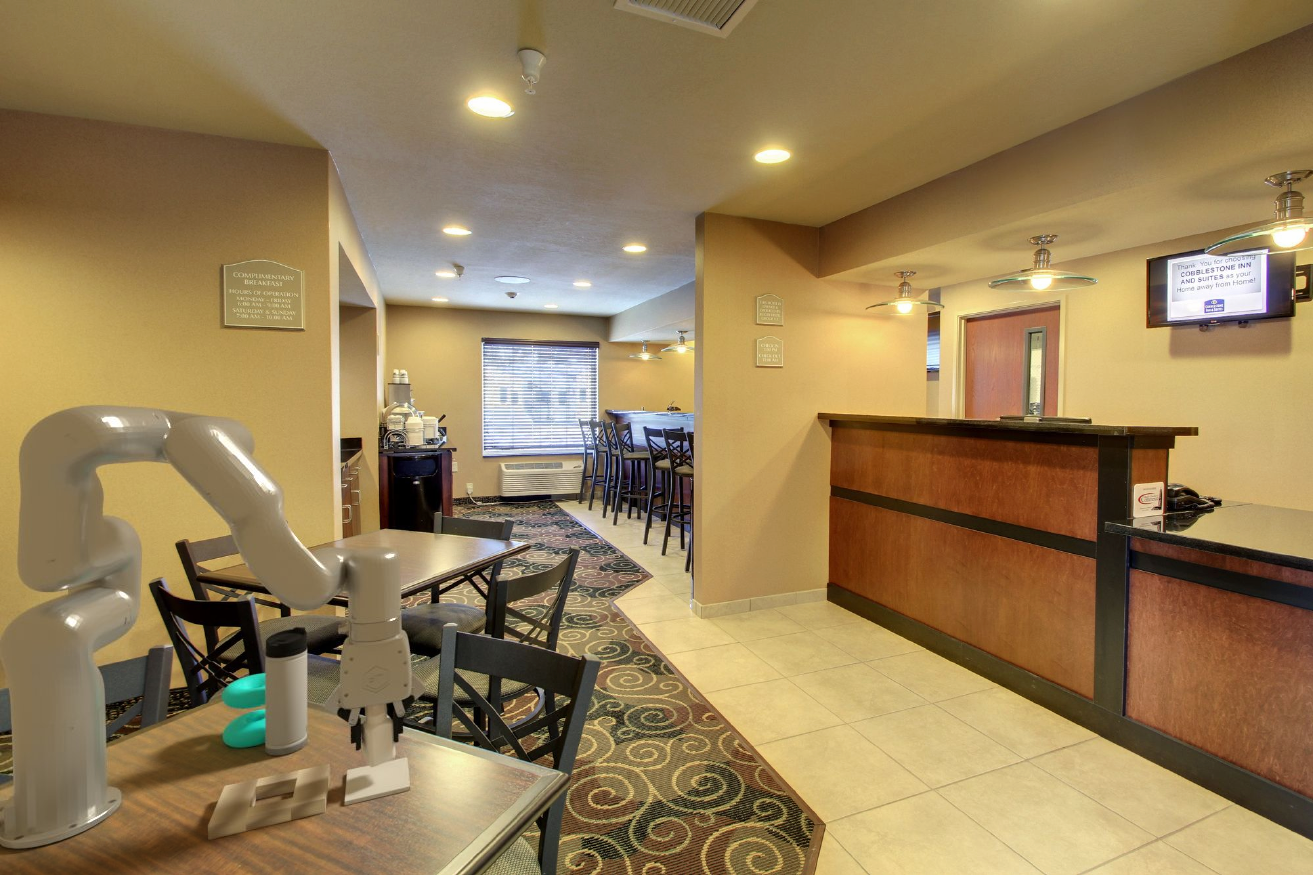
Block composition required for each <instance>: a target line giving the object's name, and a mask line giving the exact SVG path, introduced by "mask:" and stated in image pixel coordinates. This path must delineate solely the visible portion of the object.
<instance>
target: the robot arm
mask: <svg viewBox="0 0 1313 875" xmlns="http://www.w3.org/2000/svg"><path fill="white" fill-rule="evenodd" d="M255 446H256V445H255V440H254V437H253V434H252V432H251V431H250V429H249V428H248V427H247V426H245V425H244V424H243V423H242V422H240V421H238V420H237V419H234V418H231V417H225V416H213V415H205V414H198V413H197V414H196V413H190V412H182V411H174V410H168V409H160V408H156V407H155V408H153V407H144V406H141V407H140V406H126V405H125V406H124V405H113V404H112V405H110V404H109V405H107V404H105V405H103V404H95V405H94V404H91V405H81V406H74V407H69V408H66V409H63V410H59V411H57V412H54V413H51V414H49V415H47V416H45V417H44V418H42V419H41V420H39V421H37V423H35V424H34V425H32V427H31V428H30V429H29V431H28V432H27V433H26V434H25V435H24V438H23V440H22V441H21V445H20V447H19V453H18V472H19V473H18V474H19V486H20V487H19V488H20V504H19V510H18V511H19V513H18V514H19V515H18V532H17V533H18V536H17V537H18V538H17V555H16V557H17V559H16V560H17V562H16V563H17V571H18V577H19V579H20V581H21V582H22V584H23V585H25V586H26V587H27V588H28V589H30V590H33V591H36V592H39V593H56V592H62V591H67V594H64V595H60V596H58V597H55V598H53V599H50V600H46V601H44V602H42V603H39V604H37V605H35V606H32V607H31V608H29V609H27V610H25V611H23V612H21V613H20V614H19V615H18V616H16V617H15V618H14V619H13V620H12V621H11V622H10V623H9V624H8V625H7V626H6V628H5V629H4V630H3V632H2V634H1V636H0V660H1V664H2V667H3V671H4V675H5V676H6V680H7V685H8V691H9V700H10V720H11V721H10V722H11V723H10V724H11V741H12V748H11V749H12V778H13V780H12V781H13V782H12V783H13V795H11V796H10V797H9V798H8V799H5V800H0V823H1V824H2V825H1V827H0V844H1V845H2V846H1V845H0V846H1V847H4V848H7V849H15V850H16V849H28V848H35V847H37V848H38V847H41V846H44V845H45V846H46V845H49V844H53V843H57V842H59V841H62V840H66V839H68V838H71V837H73V836H76V835H78V834H81V833H83V832H85V831H87V830H88V829H90V828H91V829H92V827H94V826H96V825H98V824H99V823H101V822H103V821H104V820H106V819H107V818H108V817H110V816H111V815H112V814H113V813H114V812H116V811H117V809H118V808H120V805H121V804H122V792H121V790H120V789H119V788H118V787H115V786H111V785H108V770H107V769H108V766H107V732H106V731H107V730H106V728H107V727H106V726H107V723H106V720H107V719H106V693H105V684H104V683H105V682H104V678H103V675H102V673H101V671H100V669H99V667H98V665H97V664H96V662H95V658H94V654H95V653H96V652H99V650H102V649H103V648H105V647H107V646H109V645H110V644H111V645H112V643H115V642H116V641H118V640H119V639H121V638H122V637H124V636H125V635H127V633H128V632H130V630H132V628H133V627H134V625H135V624H136V622H137V619H138V617H139V613H140V607H141V606H140V605H141V591H142V590H141V587H142V566H143V565H142V563H143V547H142V541H141V539H140V535H139V534H138V531H136V529H135V528H134V526H133V525H132V524H131V523H129V522H128V521H126V520H125V519H123V518H121V517H117V516H115V515H110V514H109V515H104V512H103V511H104V500H105V494H104V488H103V484H102V483H101V480H100V477H99V476H98V473H97V469H98V468H99V467H102V466H106V465H114V464H115V465H116V464H127V463H130V464H131V463H139V462H141V463H142V462H143V463H144V462H150V463H160V464H161V463H162V464H170V465H171V466H172V468H173V469H174V470H175V471H176V472H178V474H179V475H180V476H181V477H182V478H183V479H185V481H186V482H187V483H188V484H189V485H190V487H192V488H193V489H194V491H196V492H197V493H198V494H199V495H200V496H201V498H202V499H203V500H205V502H207V504H209V506H210V507H211V508H212V509H213V510H214V511H215V512H216V513H217V514H218V515H219V516H220V517H221V518H222V520H224V522H225V523H226V524H227V525H228V527H229V529H230V533H231V537H232V539H233V541H234V544H235V546H236V549H237V551H238V552H239V555H240V558H242V561H243V562H244V564H245V565H246V567H247V569H248V570H249V571H250V573H251V574H252V576H254V578H255V579H257V580H258V581H259V583H260V584H261V585H263V587H264V588H265V589H266V590H267V591H268V592H269V593H271V595H273V597H275V598H276V600H278V601H279V602H280V603H281V604H283V605H285V606H286V607H288V608H290V609H293V610H296V611H300V612H309V611H315V610H317V609H320V608H321V607H323V606H325V605H326V604H328V603H329V602H330V601H332V599H333V598H334V597H336V596H338V595H340V594H342V593H344V592H347V595H348V596H347V598H348V599H347V601H348V602H347V604H348V605H347V606H348V609H347V610H348V612H347V613H348V620H347V621H346V623H343V624H340V625H339V624H338V627H337V629H338V630H337V632H338V635H341V634H343V635H346V636H347V637H346V638H345V640H344V642H343V645H342V649H341V655H340V666H339V670H340V671H339V684H338V685H337V686H336V687H335V688H334V690H333V691H332V693H331V694H330V695H329V697H328V698H327V699H326V701H325V702H324V709H325V710H326V711H327V712H330V713H332V714H335V715H337V716H338V717H339V718H340V719H342V720H343V721H345V722H346V723H347V724H348V726H350V745H351V744H352V745H353V744H355V752H357V751H360V750H362V735H361V724H362V718H361V717H360V716H361V715H360V711H361V709H362V708H365V707H369V706H375V705H380V704H385V703H387V704H391V703H392V704H393V707H394V709H393V710H394V711H392V720H393V727H394V742H395V744H396V743H397V744H398V743H399V741H400V740H399V737H400V736H399V735H401V734H404V716H405V714H406V712H407V711H408V710H409V708H411V706H412V705H413V704H414V703H415V701H416V700H417V699H419V697H421V696H422V695H423V694H424V693H425V692H426V691H427V687H426V684H425V683H424V682H423V681H422V680H421V679H420V678H419V677H418V676H417V675H416V674H415V673H414V672H413V671H412V661H411V659H412V658H411V651H410V650H411V649H410V643H409V638H408V637H409V636H408V634H407V632H406V631H405V630H403V629H402V588H401V587H402V582H401V581H402V580H401V578H402V576H401V573H402V572H401V569H402V568H401V565H402V564H401V555H400V553H399V551H398V550H396V549H395V548H391V547H385V546H384V547H383V546H381V547H377V546H376V547H369V548H368V547H367V548H363V549H355V548H347V547H346V548H344V547H331V546H329V547H322V548H319V549H316V550H314V551H312V552H311V551H310V550H309V549H308V548H307V547H306V546H305V545H304V544H303V543H302V542H301V540H300V539H298V537H297V536H296V534H295V533H294V532H293V530H292V528H291V527H290V525H289V523H288V521H287V519H286V515H285V510H284V508H285V507H284V505H285V504H284V503H285V502H284V501H285V494H284V489H283V487H282V485H281V484H279V482H278V481H277V480H276V479H275V478H274V477H273V476H272V475H271V474H270V473H269V472H268V471H267V470H266V469H265V468H264V466H263V465H261V464H260V463H259V461H258V460H257V459H256V458H255V456H253V454H254V452H255ZM412 688H413V689H412ZM339 701H340V702H339Z"/></svg>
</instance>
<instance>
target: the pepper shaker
mask: <svg viewBox="0 0 1313 875" xmlns="http://www.w3.org/2000/svg"><path fill="white" fill-rule="evenodd" d="M387 704H388V703H385V704H380V705H375V706H369V707H364V716H365V720H363V722H361V750H362V758H363V760H364V761H365V763H367V766H370V767H375V766H378V765H380V764H383V763H385V762H387V761H392V760H395V758H396V743H395V742H394V727H393V718H392V717H391V716H390V715H388V707H387Z"/></svg>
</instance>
